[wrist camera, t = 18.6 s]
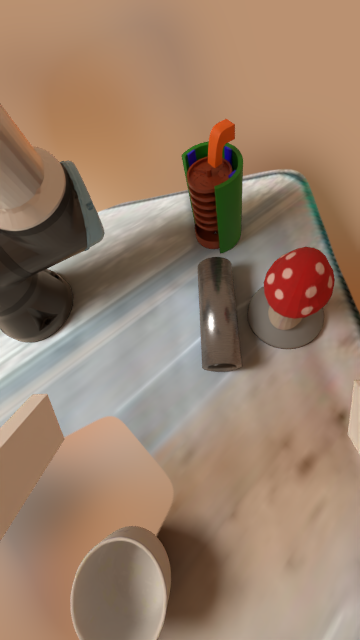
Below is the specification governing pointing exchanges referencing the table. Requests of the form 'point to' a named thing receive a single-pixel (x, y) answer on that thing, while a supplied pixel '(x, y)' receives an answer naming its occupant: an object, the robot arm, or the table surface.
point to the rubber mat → (277, 337)
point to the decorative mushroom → (297, 286)
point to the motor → (216, 188)
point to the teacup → (122, 588)
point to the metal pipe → (218, 316)
